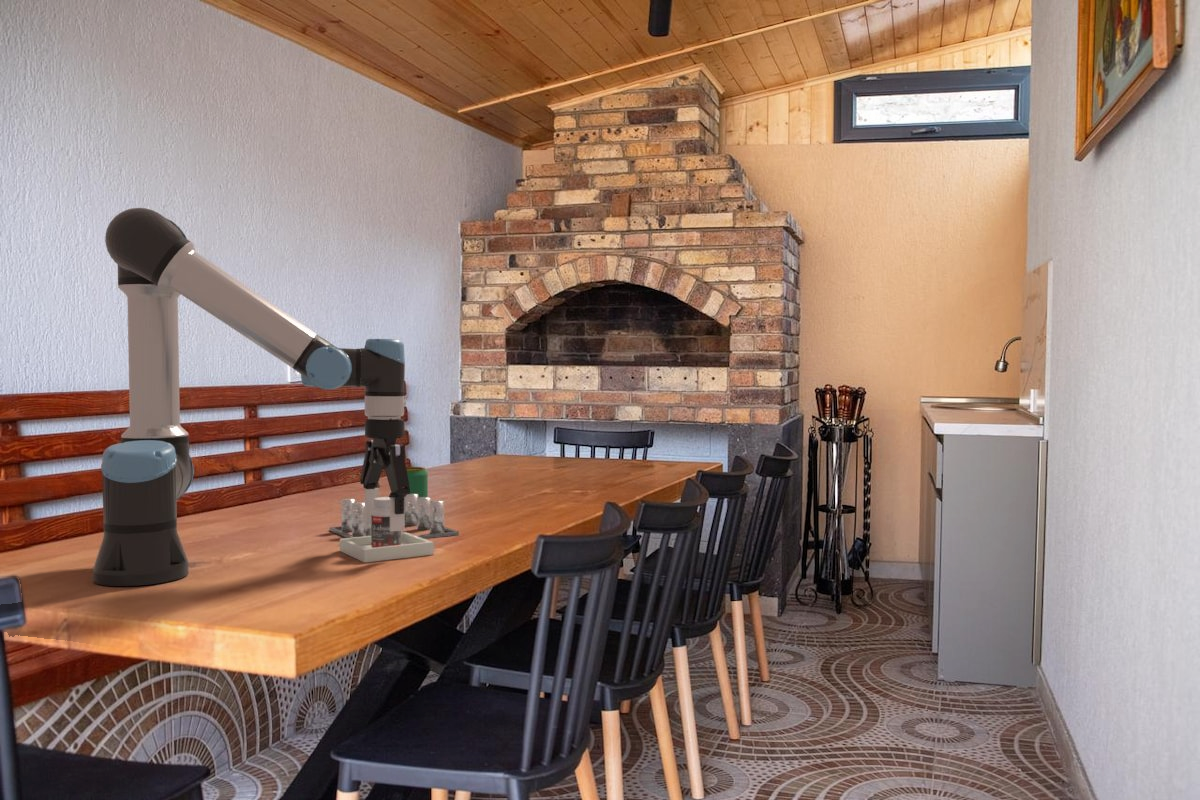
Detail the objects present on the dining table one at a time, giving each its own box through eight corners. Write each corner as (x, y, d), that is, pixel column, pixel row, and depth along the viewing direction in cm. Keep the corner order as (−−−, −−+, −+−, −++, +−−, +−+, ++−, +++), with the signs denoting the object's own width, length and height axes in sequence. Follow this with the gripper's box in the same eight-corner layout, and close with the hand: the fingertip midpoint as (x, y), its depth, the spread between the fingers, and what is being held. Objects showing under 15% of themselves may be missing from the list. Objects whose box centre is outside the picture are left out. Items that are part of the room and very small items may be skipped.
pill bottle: (368, 551, 196) (368, 500, 195) (374, 546, 201) (373, 496, 201) (398, 551, 196) (398, 500, 195) (403, 545, 201) (402, 496, 201)
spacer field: (362, 545, 207) (362, 511, 206) (328, 530, 225) (327, 498, 225) (460, 534, 219) (460, 502, 219) (420, 521, 237) (419, 491, 237)
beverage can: (387, 518, 242) (387, 468, 242) (416, 514, 247) (416, 466, 247) (405, 522, 236) (404, 471, 236) (434, 518, 242) (433, 468, 241)
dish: (364, 562, 189) (364, 549, 189) (339, 550, 201) (339, 538, 200) (433, 554, 196) (433, 542, 196) (406, 543, 208) (405, 532, 208)
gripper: (428, 420, 189) (427, 533, 190) (379, 414, 210) (379, 515, 211) (390, 421, 185) (389, 536, 186) (344, 414, 206) (344, 518, 207)
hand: (384, 526), depth 198 cm, fingers open, 13 cm apart
